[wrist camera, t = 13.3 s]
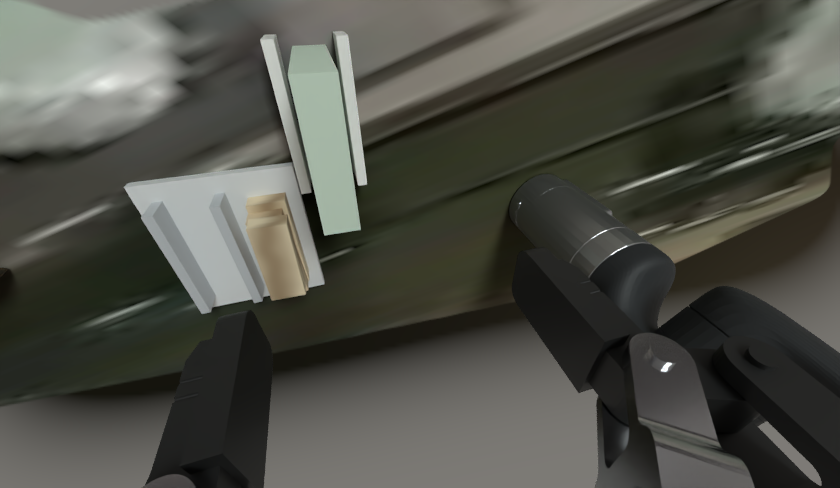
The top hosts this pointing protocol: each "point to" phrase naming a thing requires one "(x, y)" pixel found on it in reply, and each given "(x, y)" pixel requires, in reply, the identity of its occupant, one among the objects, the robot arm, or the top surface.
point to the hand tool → (3, 271)
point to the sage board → (324, 136)
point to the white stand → (288, 112)
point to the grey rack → (219, 229)
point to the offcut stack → (277, 245)
